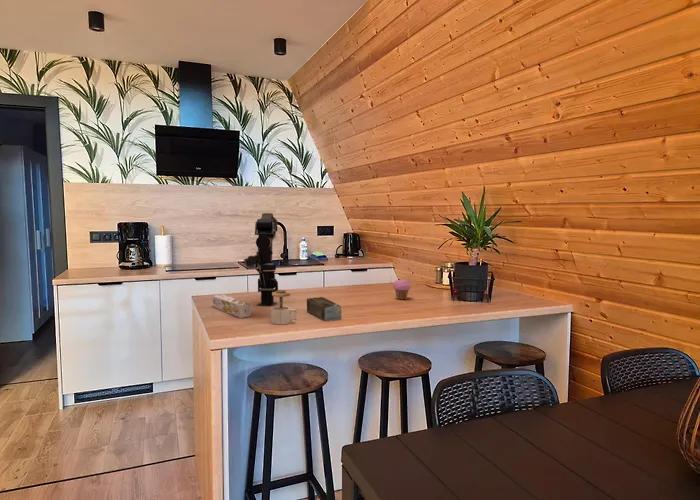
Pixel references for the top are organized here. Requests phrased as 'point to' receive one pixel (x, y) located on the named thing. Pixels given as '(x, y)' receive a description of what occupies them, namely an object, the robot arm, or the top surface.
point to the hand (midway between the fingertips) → (264, 286)
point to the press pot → (282, 315)
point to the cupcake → (401, 288)
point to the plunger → (281, 295)
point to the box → (232, 306)
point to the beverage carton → (323, 308)
